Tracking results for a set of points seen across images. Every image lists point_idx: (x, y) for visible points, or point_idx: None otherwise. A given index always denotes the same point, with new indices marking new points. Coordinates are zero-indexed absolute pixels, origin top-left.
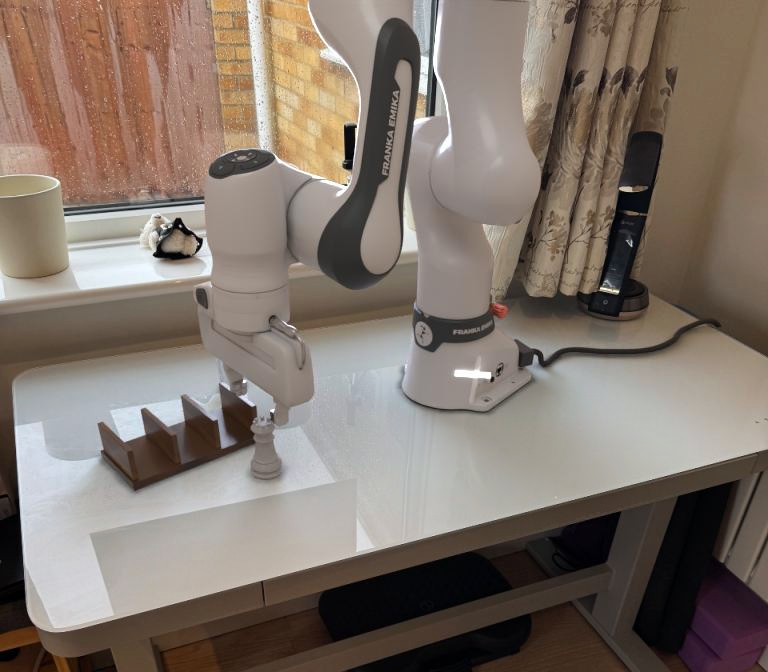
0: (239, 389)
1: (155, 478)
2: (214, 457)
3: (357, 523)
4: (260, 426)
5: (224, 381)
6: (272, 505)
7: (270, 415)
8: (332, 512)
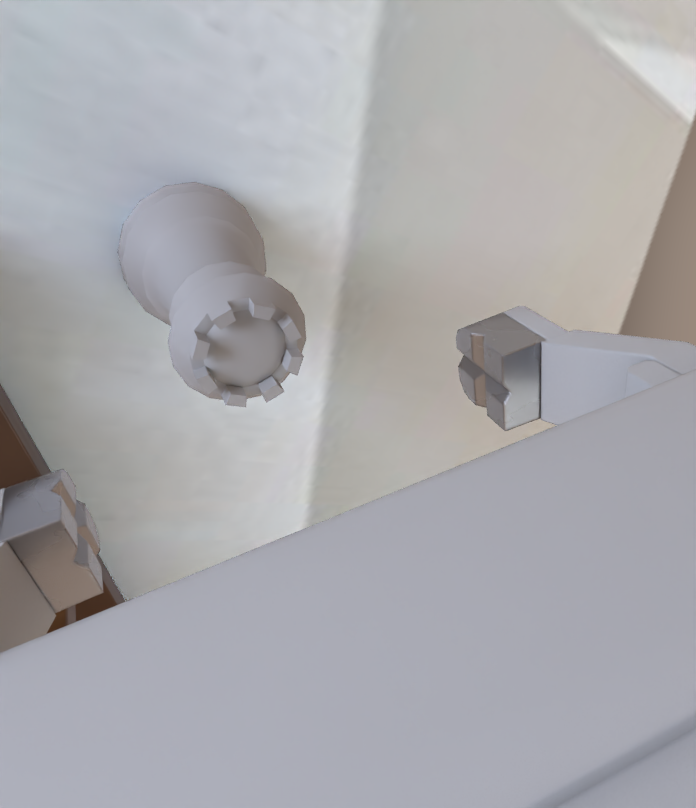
0: (83, 539)
1: (120, 602)
2: (23, 428)
3: (617, 51)
4: (273, 369)
5: None
6: (392, 290)
7: (489, 412)
8: (527, 108)
